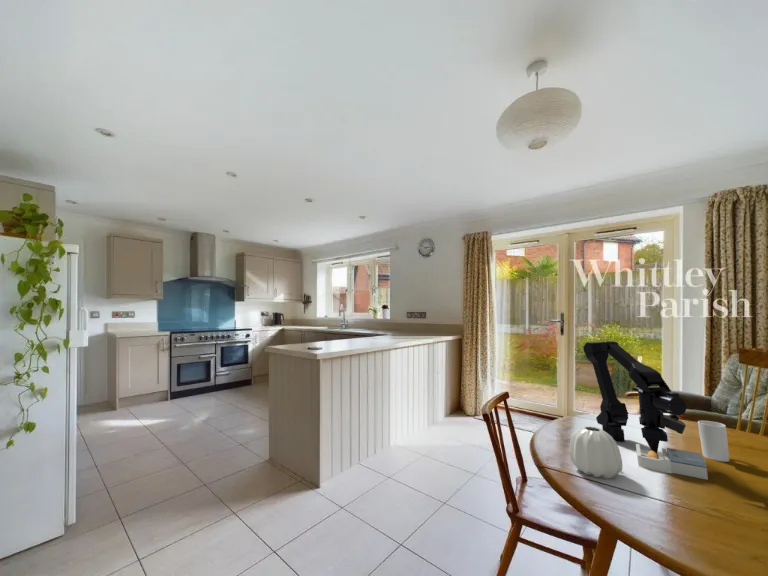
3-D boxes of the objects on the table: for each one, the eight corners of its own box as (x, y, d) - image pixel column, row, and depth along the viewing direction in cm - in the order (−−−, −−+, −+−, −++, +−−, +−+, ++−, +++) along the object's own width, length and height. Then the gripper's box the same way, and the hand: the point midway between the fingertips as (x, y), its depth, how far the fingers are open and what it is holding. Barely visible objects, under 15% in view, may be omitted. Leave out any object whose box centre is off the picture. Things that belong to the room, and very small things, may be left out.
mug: (729, 466, 102) (724, 428, 103) (700, 459, 107) (695, 423, 109) (733, 457, 108) (728, 422, 109) (705, 451, 113) (701, 417, 114)
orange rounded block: (649, 466, 101) (648, 457, 101) (647, 458, 107) (647, 449, 107) (661, 468, 99) (660, 459, 99) (658, 460, 105) (658, 451, 105)
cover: (670, 460, 97) (669, 455, 97) (667, 451, 104) (666, 447, 104) (706, 467, 92) (705, 461, 93) (700, 457, 99) (700, 452, 99)
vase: (606, 487, 90) (602, 439, 92) (561, 468, 103) (558, 425, 104) (633, 477, 96) (628, 431, 97) (587, 459, 108) (584, 419, 110)
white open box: (639, 469, 101) (637, 456, 101) (636, 450, 115) (635, 439, 115) (709, 483, 91) (707, 469, 92) (696, 461, 105) (695, 449, 106)
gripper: (686, 417, 96) (692, 470, 95) (677, 403, 111) (682, 448, 110) (640, 412, 103) (645, 461, 101) (637, 399, 118) (641, 442, 116)
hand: (654, 453), depth 107 cm, fingers closed
